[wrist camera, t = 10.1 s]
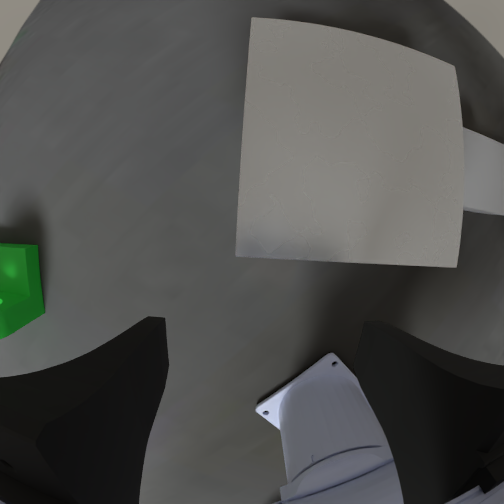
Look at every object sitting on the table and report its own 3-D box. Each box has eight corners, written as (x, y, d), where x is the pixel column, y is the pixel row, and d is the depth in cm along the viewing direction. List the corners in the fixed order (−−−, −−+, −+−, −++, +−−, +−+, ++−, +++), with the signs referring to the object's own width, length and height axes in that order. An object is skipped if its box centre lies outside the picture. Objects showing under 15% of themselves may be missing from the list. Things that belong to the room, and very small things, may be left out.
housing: (400, 248, 20) (456, 267, 13) (239, 237, 20) (235, 256, 13) (404, 96, 18) (454, 66, 11) (250, 71, 18) (251, 17, 11)
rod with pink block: (524, 234, 19) (560, 242, 14) (367, 210, 18) (405, 214, 13) (526, 164, 18) (562, 162, 13) (370, 110, 17) (404, 86, 12)
